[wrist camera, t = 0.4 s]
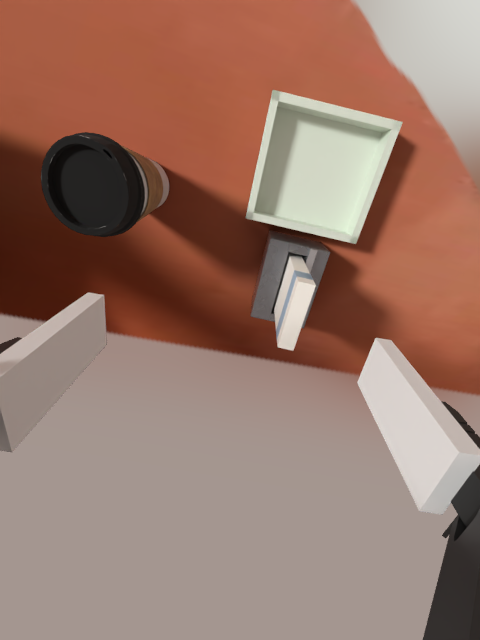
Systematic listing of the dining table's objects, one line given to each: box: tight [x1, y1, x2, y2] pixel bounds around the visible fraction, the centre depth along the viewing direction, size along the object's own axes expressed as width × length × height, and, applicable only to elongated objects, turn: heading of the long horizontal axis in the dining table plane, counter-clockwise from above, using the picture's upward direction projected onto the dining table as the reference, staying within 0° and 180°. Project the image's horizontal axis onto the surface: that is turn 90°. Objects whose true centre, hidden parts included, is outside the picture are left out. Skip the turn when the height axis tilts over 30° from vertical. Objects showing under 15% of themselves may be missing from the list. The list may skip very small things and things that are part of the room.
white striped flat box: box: [274, 252, 316, 351], centre depth 34 cm, size 2×7×14 cm, turn 168°
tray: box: [246, 90, 403, 244], centre depth 35 cm, size 14×13×4 cm
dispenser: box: [251, 230, 330, 328], centre depth 39 cm, size 7×10×7 cm
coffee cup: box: [41, 132, 169, 237], centre depth 31 cm, size 8×8×15 cm
